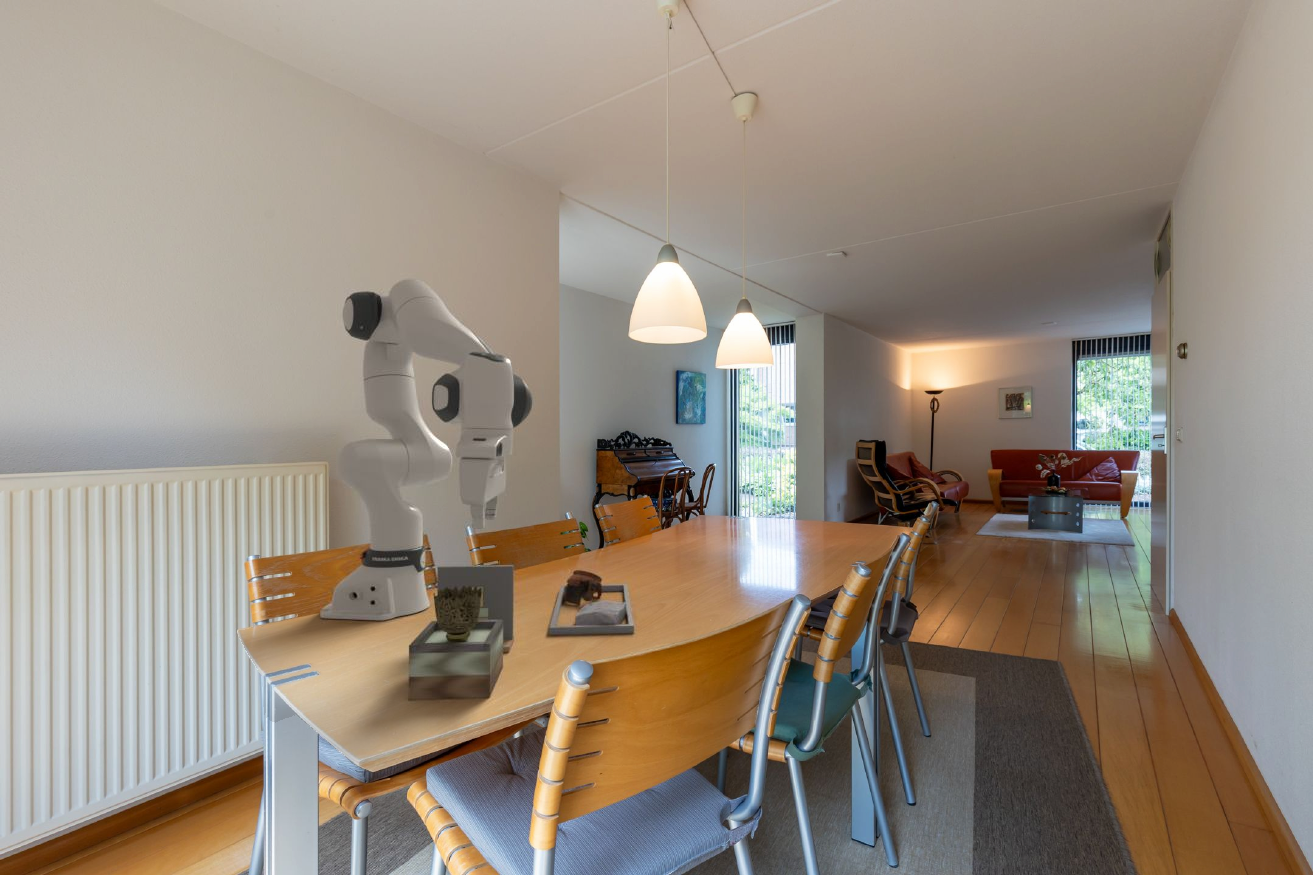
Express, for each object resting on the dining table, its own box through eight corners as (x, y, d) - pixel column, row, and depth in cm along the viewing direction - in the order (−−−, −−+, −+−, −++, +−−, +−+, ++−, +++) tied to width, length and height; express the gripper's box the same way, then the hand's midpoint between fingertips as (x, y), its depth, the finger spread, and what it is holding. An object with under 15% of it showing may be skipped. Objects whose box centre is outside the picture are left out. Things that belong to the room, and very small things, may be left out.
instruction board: (431, 654, 109) (431, 572, 108) (440, 642, 114) (440, 564, 114) (509, 652, 110) (509, 570, 110) (514, 641, 116) (514, 563, 116)
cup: (447, 631, 100) (447, 584, 100) (489, 633, 99) (489, 585, 99) (424, 647, 92) (424, 595, 92) (469, 649, 91) (469, 597, 91)
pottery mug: (553, 601, 146) (564, 569, 149) (586, 613, 150) (595, 582, 153) (575, 599, 136) (586, 565, 140) (609, 613, 140) (619, 579, 144)
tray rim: (549, 635, 119) (549, 627, 119) (560, 591, 153) (561, 585, 153) (634, 633, 121) (634, 625, 121) (627, 589, 155) (627, 584, 155)
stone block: (573, 639, 122) (620, 631, 121) (569, 616, 123) (616, 608, 122) (586, 623, 134) (629, 616, 133) (582, 602, 135) (625, 595, 133)
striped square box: (408, 699, 90) (408, 645, 90) (431, 668, 102) (431, 620, 102) (489, 697, 91) (490, 643, 91) (502, 666, 103) (503, 619, 103)
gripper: (481, 442, 114) (479, 513, 115) (452, 447, 94) (450, 534, 94) (515, 443, 115) (513, 514, 115) (493, 448, 95) (491, 534, 95)
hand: (484, 523), depth 105 cm, fingers open, 8 cm apart
